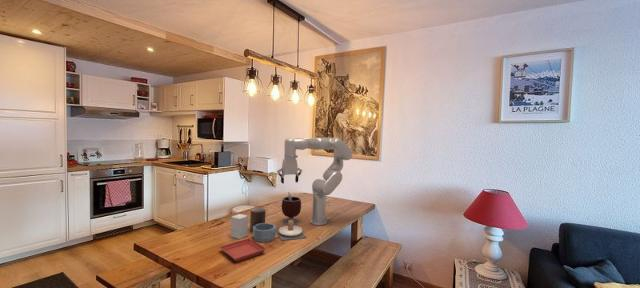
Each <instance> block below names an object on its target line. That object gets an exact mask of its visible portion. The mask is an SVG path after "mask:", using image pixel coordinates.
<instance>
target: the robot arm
mask: <svg viewBox="0 0 640 288" xmlns="http://www.w3.org/2000/svg"><path fill="white" fill-rule="evenodd" d="M306 149H310V150H317V151H321V150H334V151H333V161H332V163H331V164H329V165H330V166H328V167H327V169H325V170H324V172H323V174H322V178H323V179H321V178H318V179H317V178H316V179H315V180H314V181H313V182H312V185H311V189H312V208H311V210H312V211H311V212H312V215H311V219H310V220H309V223H310V224H311V225H314V226H324V225H327V224H328V221H330V220H332V216H328V215H327V216H326V212H327V211H326V210H327V209H326V208H327V207H326V206H327V205H326V203H327V196H330V195H331V194H332V193H333V192H334V191H335V190H336V189H337V188H338V186H339V185H340V184H341V182H342V180H343V174H342V172H341V171H342V170H343V169H344V161H350V160H351V159H352V157H353V152H352V150H351V148H350V147H349V146H348V144H346V143H345V141H343V140H342V139H341V138H340V137H339V138H338V137H296V138H286V139H285V140H284V153H283V154H284V158H283V159H282V164H281V168H280V169H278V170H276V173H277V174H278V176H279V177H280V182H281V183H282V184H284V182H285V178H284V177H285V176H286V175H289V176H290V175H294V176H295V179H294V180H295V181H294V182H295V183H299V177H300V176H301V175H302V172H303V169H301V168H299V167H298V161H297V158H298V156H299V155H297V153H296V152H297V150H298V151H299V150H301V151H304V150H306ZM298 171H299V172H298Z"/></svg>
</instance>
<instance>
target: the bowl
mask: <svg viewBox="0 0 640 288" xmlns="http://www.w3.org/2000/svg"><path fill="white" fill-rule="evenodd" d="M276 228H277V227H276V225H275V224H274V223H270V222H265V223H260V224H257V225H255V226H253V232H252V236H253V241H255V242H257V243H268V242H272V241H273V240H274V239H275V237H276V235H277V233H276Z"/></svg>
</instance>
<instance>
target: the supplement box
mask: <svg viewBox="0 0 640 288" xmlns="http://www.w3.org/2000/svg"><path fill="white" fill-rule="evenodd" d="M230 219H231V220H230V221H231V222H230V237H231V238H234V239H237V240H240V239H243V238H245V237H247V236H248V235H249V233H248V232H249V231H248V230H249V215H247V214H242V213H238V214H236V215H232V216H231V217H230Z"/></svg>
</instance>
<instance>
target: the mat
mask: <svg viewBox="0 0 640 288" xmlns="http://www.w3.org/2000/svg"><path fill="white" fill-rule="evenodd" d="M279 228H280V227H276V235H277V236H278V239H280V242H283V241H284V242H285V241H286V242H287V241H293V240H301V239H308V237H307V236H306V234H305V233H304V232H303V231H302V233H301V234H300V235H296V236H284V235H281V234H280V233H279Z"/></svg>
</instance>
